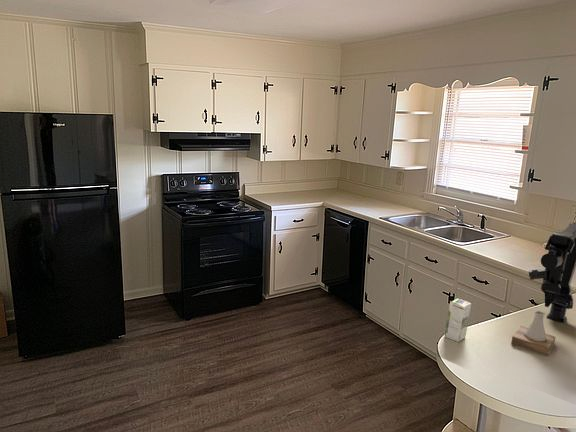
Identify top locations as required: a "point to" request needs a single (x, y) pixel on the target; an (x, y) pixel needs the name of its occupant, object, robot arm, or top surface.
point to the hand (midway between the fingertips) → (546, 303)
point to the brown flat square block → (532, 342)
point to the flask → (536, 328)
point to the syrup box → (457, 320)
